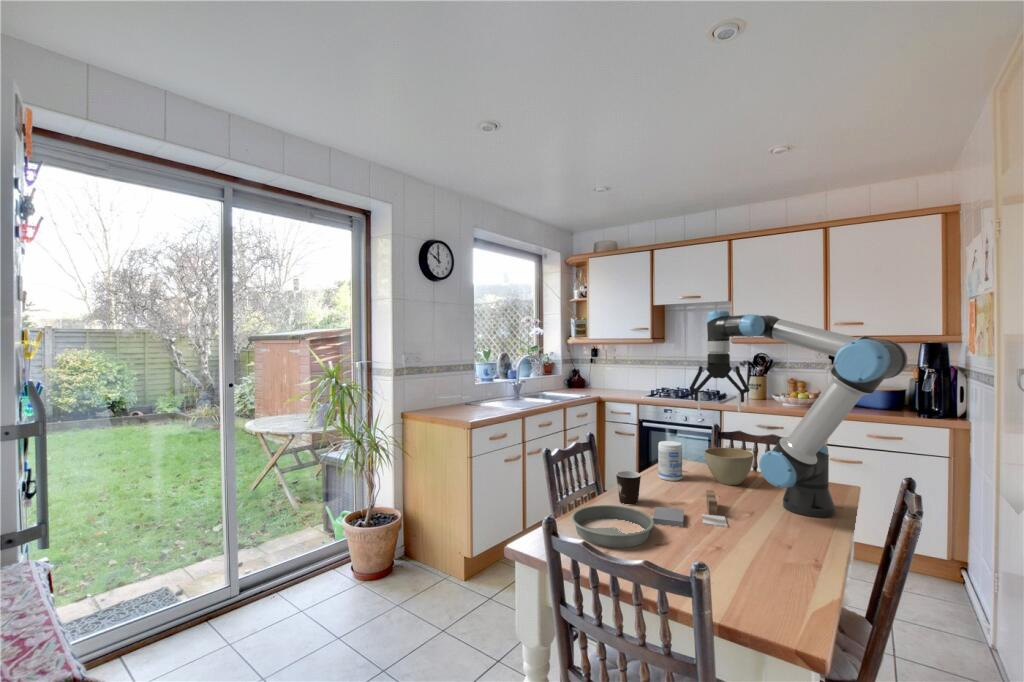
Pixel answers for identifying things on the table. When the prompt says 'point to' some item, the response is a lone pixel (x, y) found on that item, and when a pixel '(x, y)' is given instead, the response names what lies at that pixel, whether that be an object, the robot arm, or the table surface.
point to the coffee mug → (628, 486)
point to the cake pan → (611, 535)
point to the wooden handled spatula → (712, 511)
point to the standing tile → (668, 516)
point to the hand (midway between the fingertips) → (719, 410)
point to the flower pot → (729, 464)
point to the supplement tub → (670, 460)
